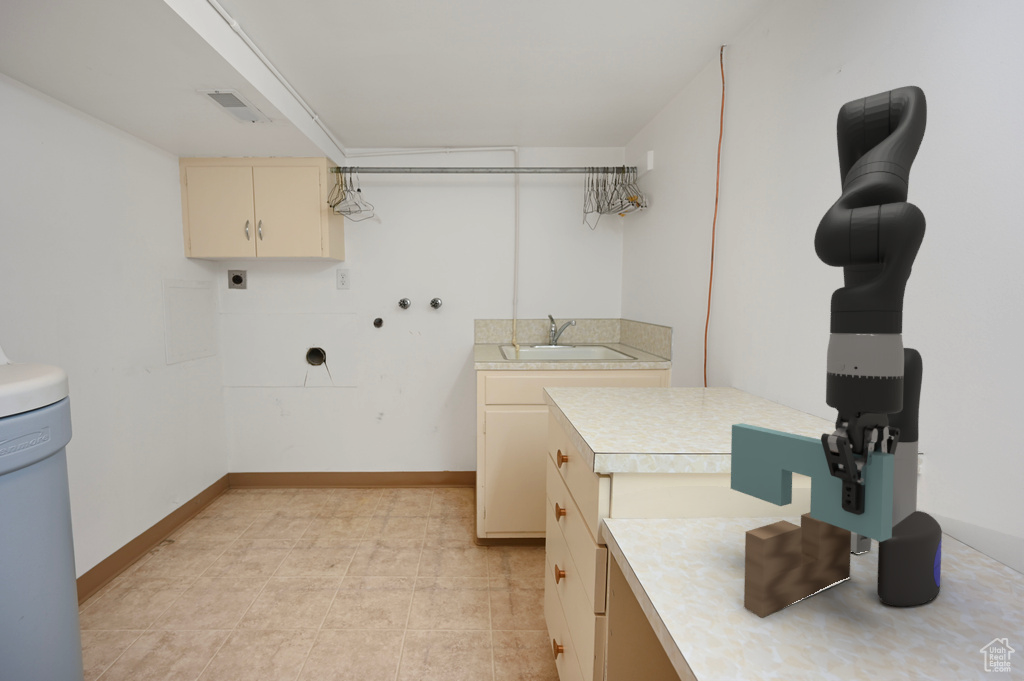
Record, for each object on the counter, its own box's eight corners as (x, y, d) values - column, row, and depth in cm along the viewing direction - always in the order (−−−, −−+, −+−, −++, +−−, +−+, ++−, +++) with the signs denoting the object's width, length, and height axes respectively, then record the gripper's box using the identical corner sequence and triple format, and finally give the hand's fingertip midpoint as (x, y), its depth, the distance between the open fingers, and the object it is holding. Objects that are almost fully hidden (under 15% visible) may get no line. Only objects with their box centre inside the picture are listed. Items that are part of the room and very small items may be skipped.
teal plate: (741, 486, 73) (742, 423, 73) (891, 537, 55) (894, 454, 55) (730, 488, 72) (731, 424, 71) (880, 541, 54) (883, 457, 54)
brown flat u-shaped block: (831, 571, 69) (833, 505, 69) (849, 579, 67) (851, 511, 67) (744, 607, 60) (745, 531, 60) (762, 618, 58) (763, 539, 58)
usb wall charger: (856, 556, 74) (856, 531, 74) (812, 538, 80) (813, 515, 80) (870, 551, 76) (871, 527, 76) (827, 534, 82) (827, 511, 82)
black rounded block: (919, 621, 58) (921, 546, 57) (874, 603, 61) (876, 533, 61) (952, 581, 67) (955, 516, 67) (912, 567, 71) (914, 506, 70)
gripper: (868, 376, 50) (864, 533, 50) (929, 371, 56) (924, 511, 57) (798, 370, 57) (795, 509, 57) (859, 366, 63) (856, 491, 63)
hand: (859, 509), depth 57 cm, fingers closed on teal plate, 2 cm apart
